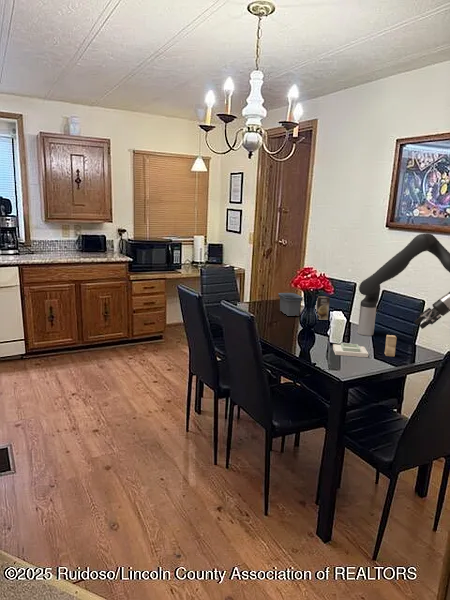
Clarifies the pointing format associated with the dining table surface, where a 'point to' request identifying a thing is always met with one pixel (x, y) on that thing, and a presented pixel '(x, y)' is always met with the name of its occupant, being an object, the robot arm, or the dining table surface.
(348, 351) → the socket base
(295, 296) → the storage bin
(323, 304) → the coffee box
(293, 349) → the dining table surface
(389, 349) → the birch pillar block
